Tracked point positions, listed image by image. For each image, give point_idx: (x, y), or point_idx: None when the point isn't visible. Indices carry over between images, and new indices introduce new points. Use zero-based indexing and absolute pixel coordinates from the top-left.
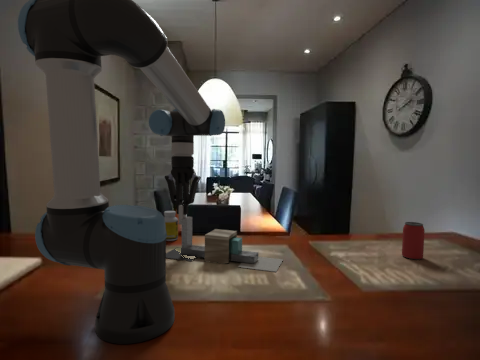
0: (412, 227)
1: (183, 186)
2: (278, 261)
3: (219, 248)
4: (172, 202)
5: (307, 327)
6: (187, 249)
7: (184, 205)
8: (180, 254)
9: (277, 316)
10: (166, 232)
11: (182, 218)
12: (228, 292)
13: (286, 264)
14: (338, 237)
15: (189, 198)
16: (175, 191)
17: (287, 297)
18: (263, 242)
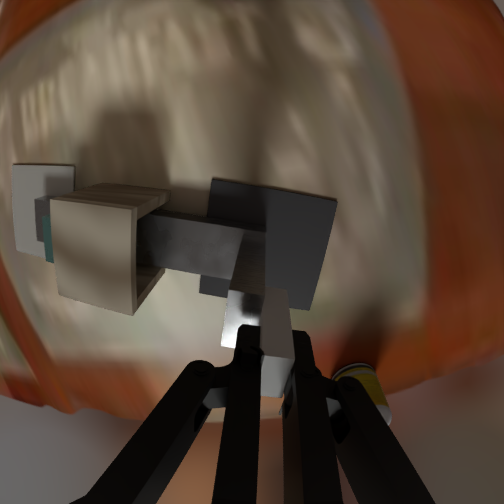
0: None
1: (245, 500)
2: (19, 233)
3: (100, 193)
4: (350, 378)
5: (8, 4)
6: (238, 228)
7: (239, 347)
8: (272, 238)
9: (26, 3)
10: (365, 380)
11: (260, 298)
12: (79, 23)
13: (8, 222)
14: (17, 389)
15: (189, 392)
16: (347, 471)
17: (6, 61)
18: (94, 375)
